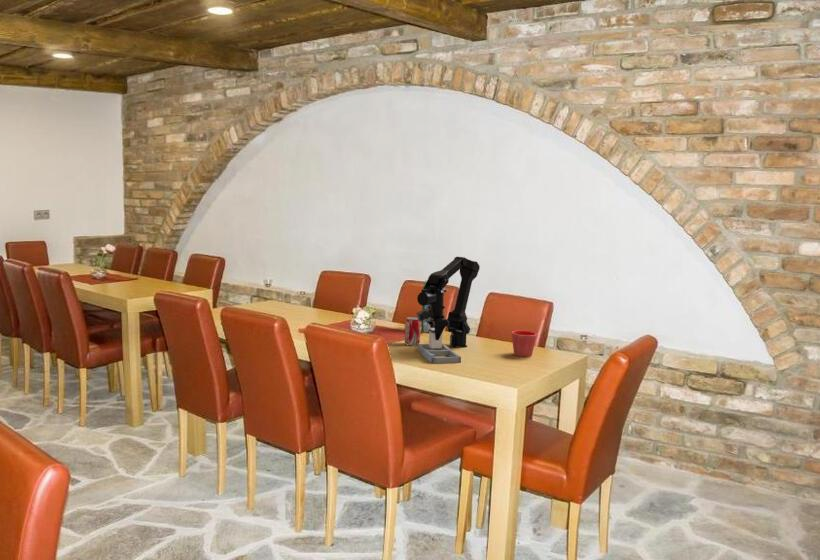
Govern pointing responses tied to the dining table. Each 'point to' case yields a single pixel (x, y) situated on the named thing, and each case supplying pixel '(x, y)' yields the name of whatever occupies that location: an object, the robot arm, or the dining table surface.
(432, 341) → the cylinder
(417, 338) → the soda can
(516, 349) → the flower pot
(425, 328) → the milk carton
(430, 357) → the grey divided tray
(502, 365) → the dining table surface
